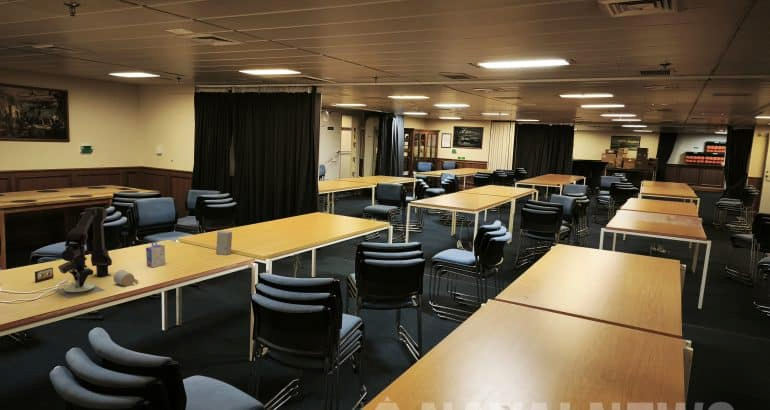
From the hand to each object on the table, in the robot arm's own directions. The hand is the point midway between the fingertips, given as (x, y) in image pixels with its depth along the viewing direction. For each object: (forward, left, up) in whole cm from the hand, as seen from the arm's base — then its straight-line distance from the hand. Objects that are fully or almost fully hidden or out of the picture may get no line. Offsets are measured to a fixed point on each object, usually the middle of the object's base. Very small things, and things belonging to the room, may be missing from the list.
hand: (79, 285), depth 237 cm
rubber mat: (0, 0, -3) cm, 3 cm away
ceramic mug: (+5, +21, -3) cm, 22 cm away
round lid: (0, 0, -1) cm, 1 cm away
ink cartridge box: (-19, +50, -3) cm, 54 cm away
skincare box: (-16, +97, -3) cm, 98 cm away
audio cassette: (-31, -5, -3) cm, 32 cm away
